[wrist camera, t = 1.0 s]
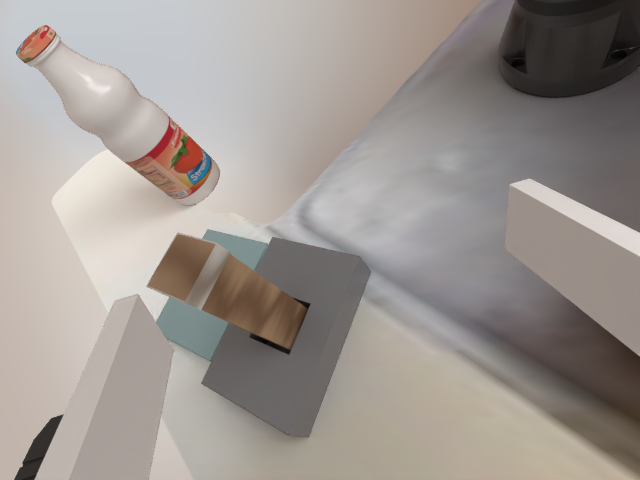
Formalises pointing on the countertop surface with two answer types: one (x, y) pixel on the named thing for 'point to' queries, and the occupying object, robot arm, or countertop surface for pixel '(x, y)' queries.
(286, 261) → the block
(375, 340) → the countertop surface
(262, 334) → the walnut plug
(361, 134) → the countertop surface
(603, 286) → the robot arm
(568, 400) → the countertop surface
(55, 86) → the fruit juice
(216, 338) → the pad
